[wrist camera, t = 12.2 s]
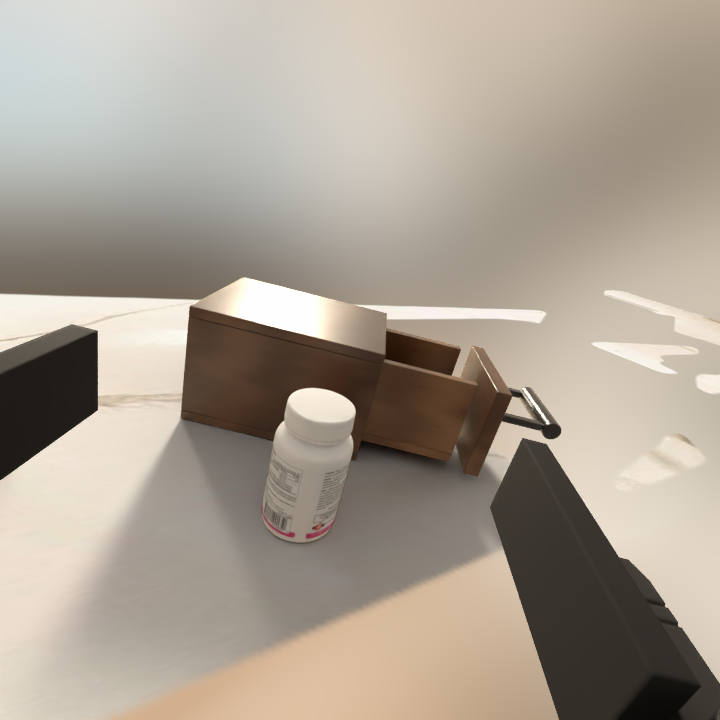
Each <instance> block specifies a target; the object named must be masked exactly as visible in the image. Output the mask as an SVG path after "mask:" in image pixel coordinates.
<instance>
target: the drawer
mask: <svg viewBox="0 0 720 720" xmlns="http://www.w3.org/2000/svg"><path fill="white" fill-rule="evenodd" d="M460 351H461V349H460V347H458V346H454V345H450V344H446V343H443V342H438V341H434V340H431V339H427V338H423V337H419V336H415V335H411V334H407V333H403V332H399V331H395V330H391V329H387V328H386V355H385V359H384V363H383V366H382V370H381V373H380V377H379V380H378V384H377V387H376V391H375V394H374V398H373V401H372V405H371V408H370V412H369V415H368V419H367V422H366V426H365V429H364V433H363V436H362V441H367V442H371V443H375V444H379V445H383V446H387V447H391V448H395V449H399V450H403V451H407V452H411V453H415V454H420V455H424V456H428V457H432V458H436V459H440V460H444V461H449V459H450V456H451V453H452V451H453V449H454V446H455V443H456V445H457V449H458V453H459V456H460V460H461V464H462V468H463V471H464V473H465V474H469V475H473V476H478V474H479V472H480V470H481V467H482V465H483V463H484V460H485V458H486V456H487V454H488V451H489V449H490V447H491V444H492V442H493V440H494V437H495V435H496V433H497V430H498V428H499V426H500V423H501V421H503V422H507V423H511V424H515V425H519V426H523V427H527V428H531V429H535V430H540V431H541V433H542V434H543V436H544V437H545V438H547V439H555V438H557V437H558V436H559V435H560V434H561V427H560V426H559V425H558V423H557V422H556V420H555V419H554V418H553V416H552V415H551V414H550V412H549V411H548V410H547V408H546V407H545V406H544V404H543V403H542V402H541V400H540V399H539V398H538V396H537V395H536V394H535V392H534V391H533V390H532V389H531V388H529V387H525V388H522V389H521V390H515V389H512V388H508V387H507V386H506V384H505V383H504V381H503V379H502V378H501V376H500V375H499V373H498V371H497V370H496V368H495V367H494V365H493V363H492V362H491V360H490V359H489V357H488V355H487V354H486V352H485V351H484V349H483V348H479V347H475V346H472V348H471V351H470V353H469V356H468V359H467V362H466V364H465V367H464V369H463V372H462V375H461V377H460V378H458V377H454V376H452V373H453V370H454V367H455V364H456V362H457V359H458V356H459V353H460ZM512 396H514V397H518V398H519V399H520V400H521V402H522V403H523V405H524V406H525V408H526V410H527V411H528V412H529V414H530V416H531V417H532V419H533V420H532V419H527V418H524V417H519V416H515V415H511V414H508V413H505V412H506V410H507V407H508V405H509V403H510V400H511V398H512Z"/></svg>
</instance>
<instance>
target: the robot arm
mask: <svg viewBox="0 0 720 720" xmlns="http://www.w3.org/2000/svg"><path fill="white" fill-rule="evenodd" d="M97 410H98V331H96V330H92V329H89V328H85V327H81V326H77V325H73V324H72V325H69V326H67V327H64V328H61V329H59V330H56V331H54V332H51V333H49V334H46V335H44V336H41V337H39V338H36V339H33V340H31V341H28V342H26V343H23V344H21V345H18V346H16V347H13V348H11V349H8V350H6V351H3V352H0V480H1V479H3V478H4V477H6V476H7V475H8V474H10V473H11V472H13V471H14V470H15V469H17V468H18V467H19V466H21V465H22V464H24V463H25V462H26V461H28V460H29V459H31V458H32V457H33V456H35V455H36V454H38V453H39V452H40V451H42V450H43V449H44V448H46V447H47V446H49V445H50V444H51V443H53V442H54V441H56V440H57V439H58V438H60V437H61V436H62V435H64V434H65V433H67V432H68V431H69V430H71V429H72V428H74V427H75V426H76V425H78V424H79V423H81V422H82V421H83V420H85V419H86V418H87V417H89V416H90V415H92V414H93V413H94V412H96V411H97ZM490 508H491V512H492V515H493V518H494V521H495V524H496V527H497V530H498V533H499V536H500V539H501V542H502V545H503V548H504V551H505V555H506V557H507V561H508V564H509V567H510V570H511V573H512V576H513V579H514V582H515V585H516V588H517V591H518V594H519V598H520V600H521V604H522V607H523V610H524V613H525V616H526V619H527V622H528V625H529V628H530V631H531V634H532V638H533V640H534V644H535V647H536V650H537V652H538V656H539V659H540V662H541V665H542V668H543V671H544V674H545V677H546V681H547V684H548V687H549V690H550V693H551V696H552V699H553V702H554V705H555V708H556V711H557V714H558V717H559V720H720V683H719V682H718V681H717V679H716V678H715V676H714V675H713V673H712V672H711V671H710V669H709V667H708V666H707V664H706V663H705V661H704V660H703V658H702V657H701V656H700V654H699V653H698V651H697V650H696V648H695V647H694V645H693V644H692V642H691V641H690V639H689V638H688V636H687V635H686V634H685V632H684V631H683V629H682V628H680V627H678V622H677V620H676V619H675V617H674V616H673V614H672V613H671V611H670V610H669V609H668V608H666V607H665V603H664V601H663V600H662V598H661V597H660V595H659V594H658V592H657V591H656V590H655V588H654V587H653V585H652V584H651V582H650V581H649V580H648V579H647V578H646V577H645V576H644V575H643V574H642V573H641V572H640V571H639V570H638V569H637V568H636V567H635V566H634V565H633V564H632V563H631V562H630V561H629V560H627V559H623V558H619V557H618V555H617V554H616V552H615V550H614V549H613V547H612V546H611V544H610V543H609V541H608V539H607V538H606V536H605V535H604V533H603V532H602V530H601V529H600V527H599V525H598V524H597V522H596V521H595V519H594V518H593V516H592V514H591V513H590V511H589V510H588V508H587V507H586V505H585V503H584V502H583V500H582V499H581V497H580V496H579V494H578V493H577V491H576V489H575V488H574V486H573V485H572V483H571V482H570V480H569V478H568V477H567V476H566V474H565V472H564V471H563V469H562V468H561V466H560V464H559V463H558V461H557V460H556V458H555V457H554V455H553V453H552V452H551V451H550V449H549V447H548V446H547V444H543V443H540V442H536V441H532V440H528V439H524V438H522V440H521V442H520V445H519V447H518V449H517V451H516V453H515V455H514V458H513V459H512V461H511V464H510V466H509V468H508V470H507V472H506V474H505V476H504V478H503V481H502V483H501V485H500V487H499V489H498V491H497V493H496V495H495V498H494V500H493V502H492V504H491V506H490Z"/></svg>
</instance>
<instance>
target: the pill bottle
mask: <svg viewBox="0 0 720 720" xmlns="http://www.w3.org/2000/svg"><path fill="white" fill-rule="evenodd" d="M355 415H356V410H355V407H354V405H353V404H352V402H351V401H349V400H348V399H347V398H345V397H344V396H342V395H340V394H338V393H335V392H333V391H329V390H325V389H319V388H305V389H300V390H297V391H295V392H293V393H292V394H291V395H290V396H289V398H288V401H287V405H286V410H285V415H284V418H285V419H284V421H283V422H282V423H281V424H280V425H279V427H278V428H277V430H276V433H275V437H274V441H273V447H272V453H271V458H270V464H269V469H268V475H267V480H266V486H265V491H264V497H263V503H262V518H263V521H264V523H265V525H266V527H267V528H268V529H269V530H270V531H271V532H272V533H273V534H274V535H276V536H277V537H279V538H281V539H284V540H287V541H291V542H298V543H304V542H311V541H314V540H317V539H319V538H321V537H323V536H324V535H325V534H326V533H327V532H328V531H329V530H330V528H331V527H332V525H333V522H334V520H335V516H336V513H337V509H338V505H339V502H340V498H341V495H342V491H343V487H344V483H345V480H346V476H347V472H348V468H349V464H350V461H351V457H352V453H353V439H352V436H351V432H352V430H353V424H354V420H355Z"/></svg>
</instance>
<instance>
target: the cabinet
mask: <svg viewBox="0 0 720 720" xmlns="http://www.w3.org/2000/svg"><path fill="white" fill-rule="evenodd" d="M386 321H387V314H386V313H383V312H379V311H375V310H371V309H367V308H363V307H359V306H355V305H351V304H347V303H343V302H339V301H335V300H332V299H327V298H323V297H320V296H316V295H312V294H308V293H304V292H300V291H296V290H292V289H288V288H284V287H280V286H276V285H272V284H269V283H264V282H260V281H257V280H253V279H248V278H245V277H243V278H241V279H239V280H237V281H236V282H234V283H232V284H230V285H228V286H227V287H225V288H223V289H221V290H219V291H217V292H215V293H213V294H211V295H210V296H208V297H206V298H204V299H202V300H200V301H198V302H197V303H195V304H193V305H191V306H190V310H189V322H188V334H187V346H186V359H185V371H184V383H183V395H182V408H181V409H182V410H181V418H183V419H187V420H191V421H195V422H199V423H204V424H208V425H212V426H216V427H220V428H224V429H228V430H232V431H236V432H240V433H245V434H249V435H253V436H257V437H261V438H265V439H269V440H273V441H274V437H275V433H276V430H277V428H278V427H279V425H280V424H281V423H282V422H283V421H284V419H285V418H284V415H285V410H286V405H287V401H288V398H289V396H290V395H291V394H292V393H293V392H295V391H297V390H300V389H305V388H319V389H325V390H329V391H333V392H335V393H338V394H340V395H342V396H344V397H345V398H347V399H348V400H349V401H351V402H352V404H353V405H354V407H355V410H356V415H355V420H354V424H353V430H352V432H351V436H352V439H353V453H352V457H351V460H356V457H357V454H358V450H359V447H360V443H361V440H362V436H363V433H364V429H365V426H366V422H367V419H368V415H369V412H370V408H371V405H372V401H373V398H374V394H375V391H376V387H377V384H378V380H379V377H380V373H381V370H382V366H383V363H384V359H385V355H386Z"/></svg>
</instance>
